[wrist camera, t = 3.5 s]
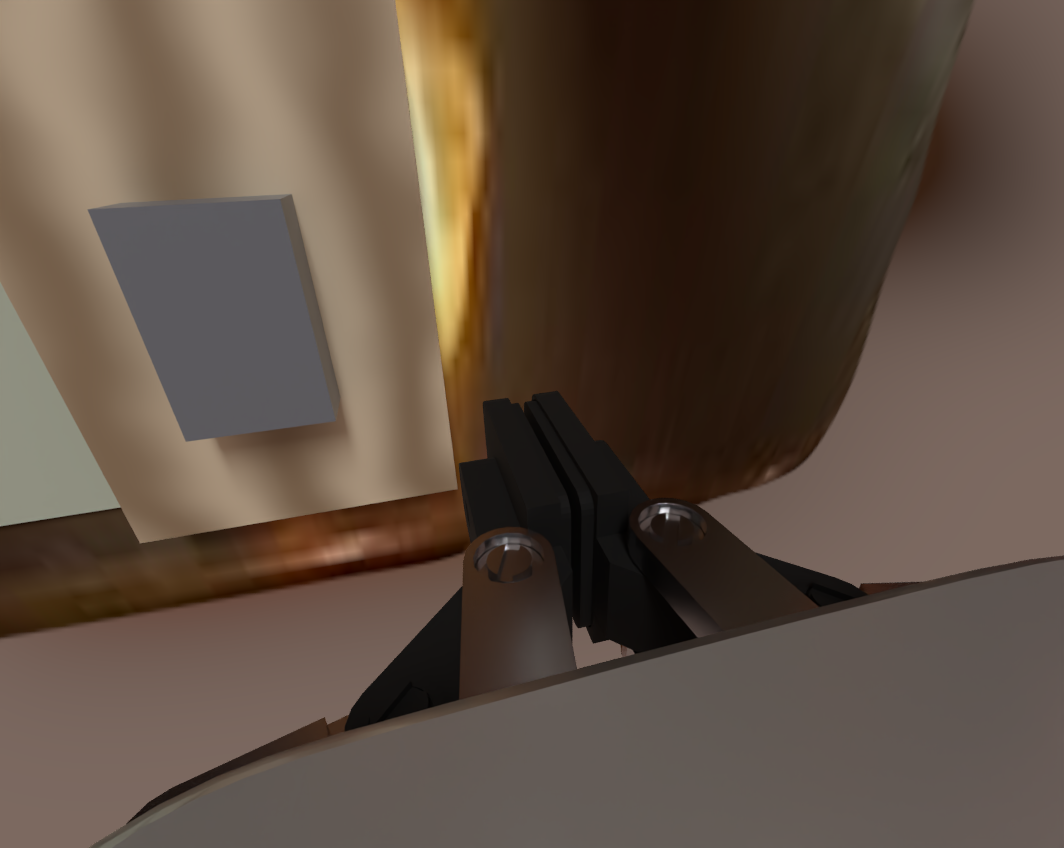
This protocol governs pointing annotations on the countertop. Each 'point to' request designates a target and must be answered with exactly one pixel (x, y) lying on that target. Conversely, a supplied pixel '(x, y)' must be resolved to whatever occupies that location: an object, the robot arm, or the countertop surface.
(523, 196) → the countertop surface
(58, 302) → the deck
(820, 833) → the robot arm
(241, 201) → the grey flat block
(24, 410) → the mat
